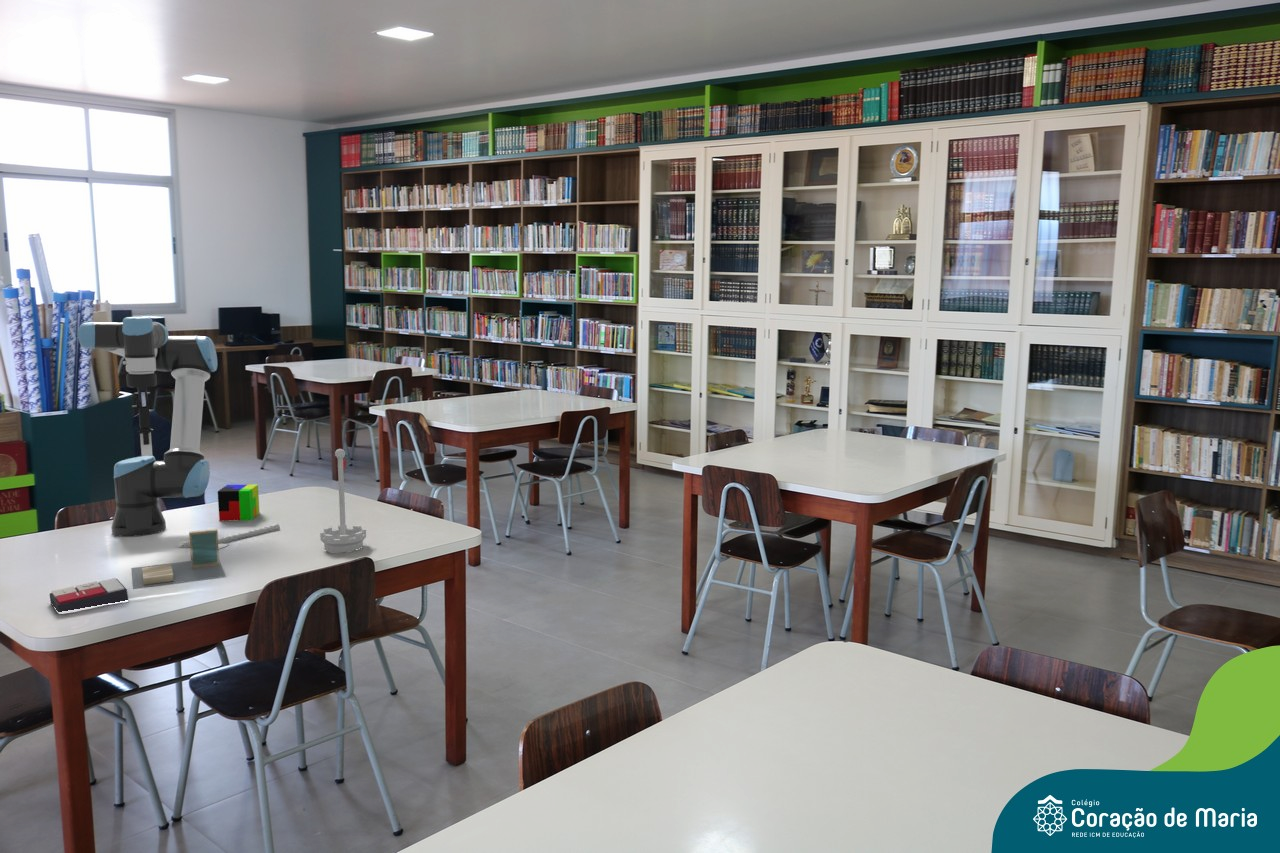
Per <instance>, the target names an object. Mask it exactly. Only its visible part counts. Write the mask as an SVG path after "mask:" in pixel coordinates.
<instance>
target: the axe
mask: <svg viewBox="0 0 1280 853" xmlns="http://www.w3.org/2000/svg"><path fill="white" fill-rule="evenodd" d="M279 530H281V526H280V524H279V523H274V524H273V523H272V525H268V526H264V527H262V528H261V527H260V528H258V529H253V530H247V531H245V532H241V533H240V532H237V533H236V534H231V535H226V536H225V537H224V536H222V537H219V538H218V548H219V550H220V549H223V548H226V547H228V546H229V545H230V544H229V542H230V543H231V542H235V541H237V540H242V539H245V538H250V537H253V536H257V535H262V534H265V533H269V532H274V531H275V532H276V531H279ZM221 543H222V544H221ZM179 546H180V547H189V548H190V540H189V541H186V542H184V543H182V544H180V545H179Z"/></svg>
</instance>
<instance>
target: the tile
mask: <svg viewBox="0 0 1280 853" xmlns="http://www.w3.org/2000/svg"><path fill="white" fill-rule="evenodd" d="M168 564H169V563H168ZM143 567H144V566H143ZM142 575H143V584H144V585H147V584H154V583H162V582H170V581H174V578H173V571H172V566H171V564H169V565H161V566H153V567H144V568H142Z"/></svg>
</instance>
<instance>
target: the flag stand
mask: <svg viewBox="0 0 1280 853" xmlns="http://www.w3.org/2000/svg"><path fill="white" fill-rule="evenodd" d="M334 452H335V453H334V457H336V459H337V473H338V474H337V478H338V480H337V482H338V501H339V503H338V504H339V505H338V506H339V525H337V529H333V527H331V526H328V527H324V528H323V530H320V531H319V540H320V541H321V542H322V543H323V544H324V545H323V546H324V548H323V549H324V551H325V550H326V551H325V552H327V551H328V552H327V553H332V552H336V553H335V554H340V553H339V552H346V553H350V552H349V551H353V550H356V549H359V548H361V547H362V546H363V547H364V540H365V539H366V538H367V529H366V527H362V526H361V525H359V524H357V525H356V524H354V525H352V528H348V526H347V524H346V508H345V506H346V505H345V504H346V501H345V498H346V497H345V476H344V475H345V474H344V469H345V467H346V466H347V464H348V462H347V461H346V460H344V458H345V456H346V451H345V450H344V449H342V448H338V449H336V451H334ZM363 547H362V548H363ZM362 548H361V549H362ZM359 550H360V549H359ZM353 552H354V551H353Z"/></svg>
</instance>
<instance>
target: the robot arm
mask: <svg viewBox="0 0 1280 853" xmlns="http://www.w3.org/2000/svg"><path fill="white" fill-rule="evenodd" d="M77 334H78V337H77V338H78V341H79V344H80V346H81V347H82V348H84V349H89V350H99V349H100V350H103V351H107V352H110V353H112V354H115V355H118V356H120V357H123V358H124V359H125V360H124V361H122V365H125V371H126V372H127V373H126V375H125V378H126V386H127V387H128V388H132V389H133V388H134V389H135V388H137V392H134V400H135V402H136V409H137V410H138V419H139V420H138V421H139V422H138V423H139V426H138V428H139V430H137V434H139V437H140V450H141V451H140V452H141V454H140V456H136V457H131V458H126V459H124V460H123V459H122V460H119V461H118V462H116V463H115V464H114V466H113V482H114V493H115V505H116V510H115V513H114V516H113V521H112V524H111V534H112V535H114V536H117V537H142V536H148V535H154V534H158V533H160V532H162V531H164V530H166V529H167V524H166V519H165V517H164V514H163V513H162V510H161V508H160V506H159V500H158V499H159V498H161V499H162V498H163V499H164V498H165V499H166V498H168V499H169V498H185V499H187V498H192V497H193V498H194V497H200V496H202V495H203V494H204V493H205V492H206V489H207V488H208V484H209V482H210V481H209V480H210V475H211V474H210V472H211V471H210V469H211V468H210V463H209V461H208V460H206V459H205V455H204V453H202V452H201V450H200V448H201V434H202V423H203V410H204V398H205V395H204V394H205V382H207V381H208V380H210V378H211V373H214V372H216V371H217V370H218V355H217V350H216V346H215V344H214V341H213V340H212V339H211V337H208V336H205V335H204V336H203V335H202V336H201V335H169V331H168V328H166V326H165V325H164V324H162V323H160V322H157V321H153V318H151V317H148V316H126V317H124V318H123V319H122V322H96V321H92V322H91V321H90V322H83V323H81V324H80V325H79V327H78V333H77ZM156 371H158V372H170V375H171V377H173V379H174V380H175V386H174V395H173V397H174V398H173V407H172V408H173V409H172V410H173V411H172V422H171V432H170V446H169V450H167V451H166V452H164V454H163V460H156V459H157V458H155V456H154V455H153V444H152V432H153V431H154V429H153V428H151V418H150V414H151V413H150V409H151V407H152V406H151V399H152V395H151V394H152V393H151V392H150V391H149V392H148V388H153V387H156V386H157V385H158V381H157V373H156Z"/></svg>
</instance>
